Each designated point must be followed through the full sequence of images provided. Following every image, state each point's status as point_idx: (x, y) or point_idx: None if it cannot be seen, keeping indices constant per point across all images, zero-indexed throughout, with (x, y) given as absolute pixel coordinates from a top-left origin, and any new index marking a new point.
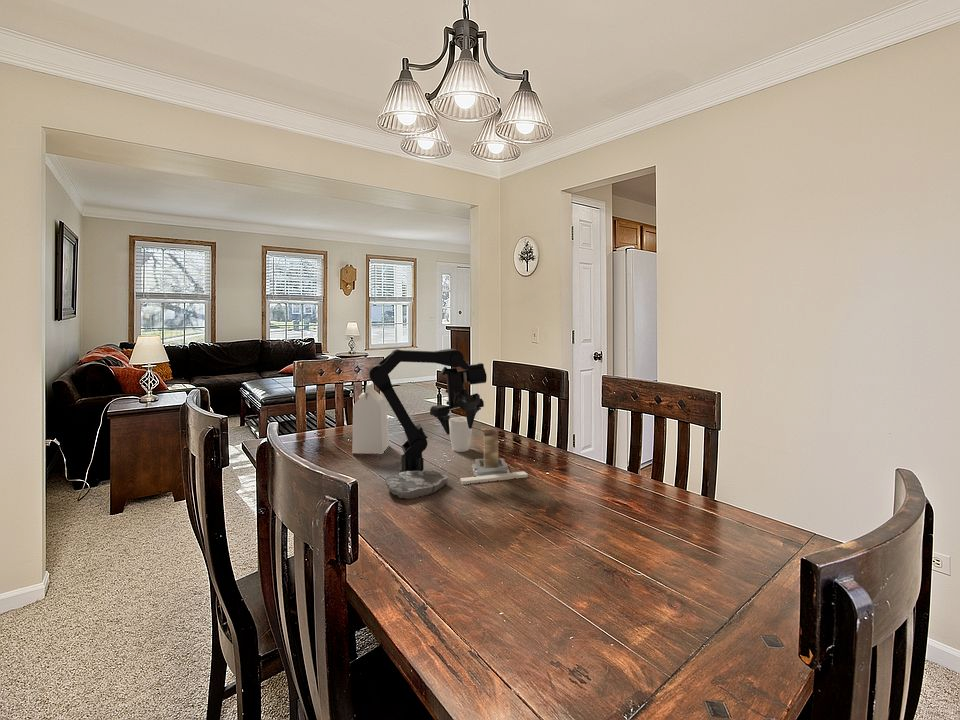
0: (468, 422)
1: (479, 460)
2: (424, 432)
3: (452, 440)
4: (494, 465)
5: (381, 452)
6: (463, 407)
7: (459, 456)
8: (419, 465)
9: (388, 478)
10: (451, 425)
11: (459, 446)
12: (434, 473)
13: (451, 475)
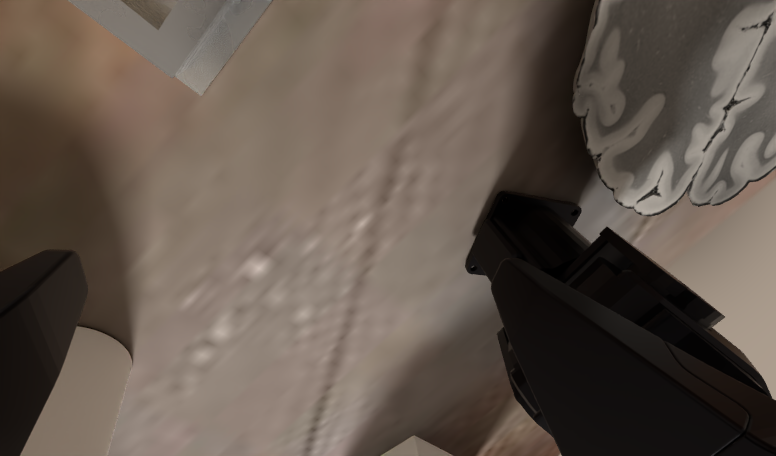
0: (25, 394)
1: (153, 25)
2: (539, 423)
3: (115, 416)
4: None
5: (418, 445)
6: None
7: (158, 281)
8: (536, 227)
9: (740, 185)
10: None
11: (95, 359)
12: (609, 64)
13: (440, 58)
